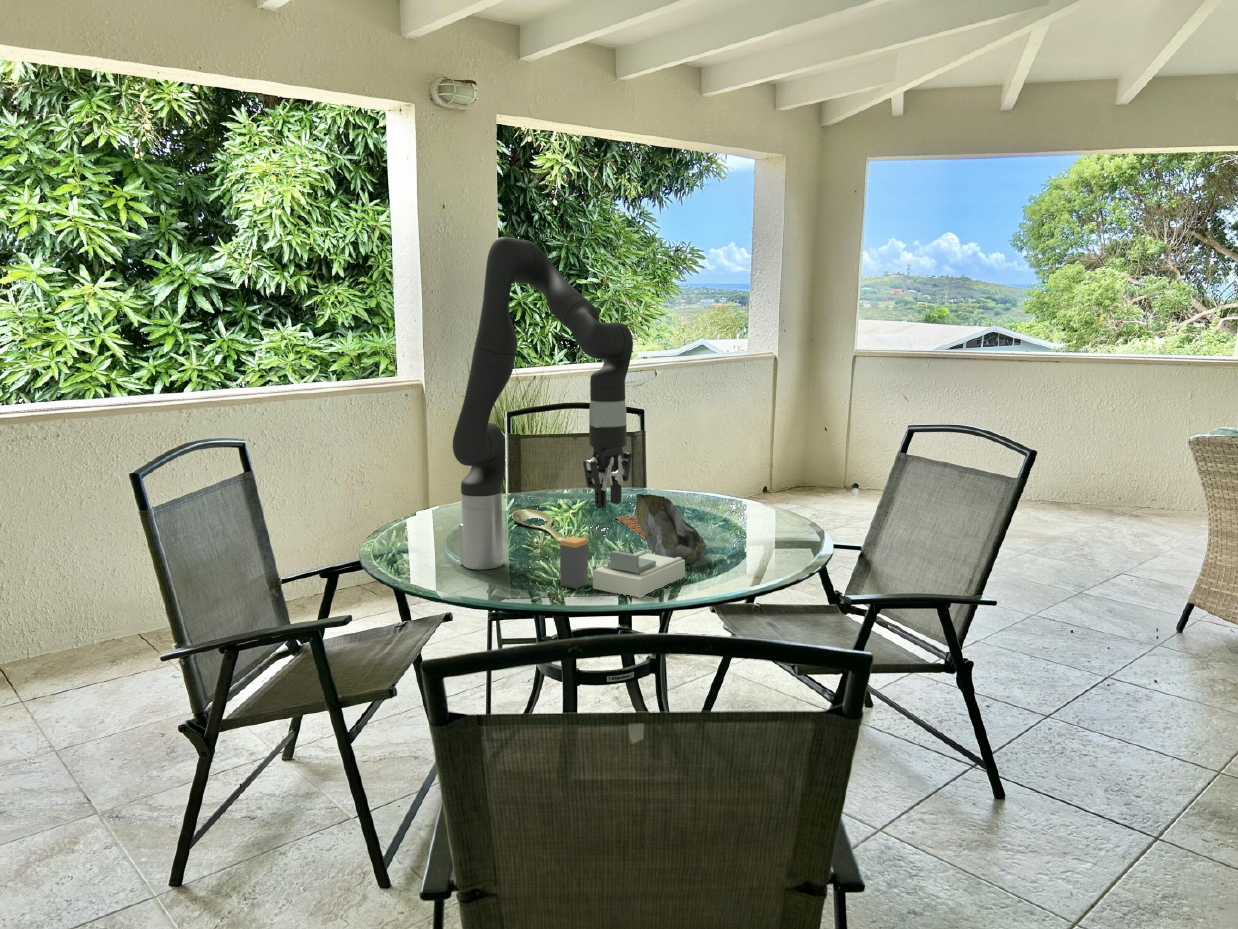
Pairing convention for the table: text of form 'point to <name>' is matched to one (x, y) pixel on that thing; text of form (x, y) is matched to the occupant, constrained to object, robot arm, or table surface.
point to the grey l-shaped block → (629, 562)
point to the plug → (574, 562)
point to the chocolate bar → (633, 524)
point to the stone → (667, 529)
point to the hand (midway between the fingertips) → (608, 505)
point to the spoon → (528, 514)
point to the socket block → (639, 576)
